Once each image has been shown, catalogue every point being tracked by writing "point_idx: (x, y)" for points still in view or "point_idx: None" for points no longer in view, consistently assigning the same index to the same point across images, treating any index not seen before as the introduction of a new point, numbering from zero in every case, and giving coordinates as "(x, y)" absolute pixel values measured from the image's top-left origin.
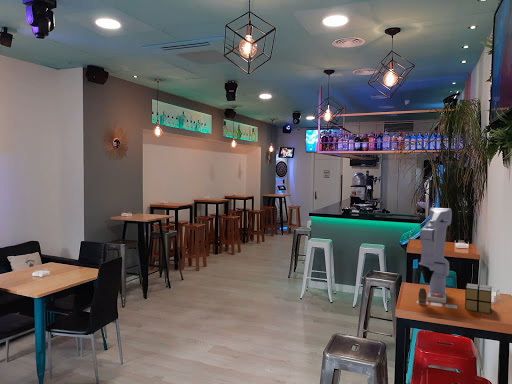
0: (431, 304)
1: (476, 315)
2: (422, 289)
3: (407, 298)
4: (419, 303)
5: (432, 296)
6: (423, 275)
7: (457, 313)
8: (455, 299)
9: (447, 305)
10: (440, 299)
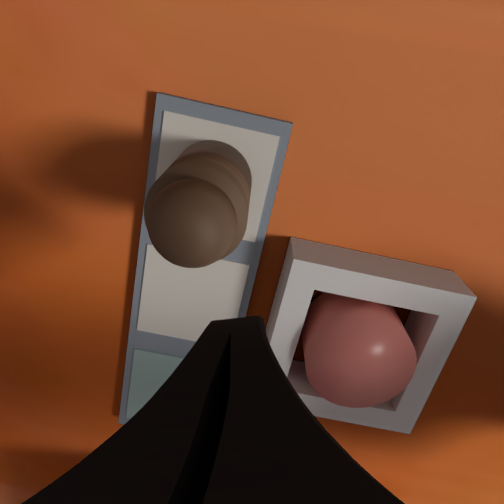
0: None
1: None
2: (152, 225)
3: (391, 33)
4: (160, 142)
5: (337, 310)
6: (235, 391)
7: (38, 393)
8: (425, 460)
9: None
10: None
